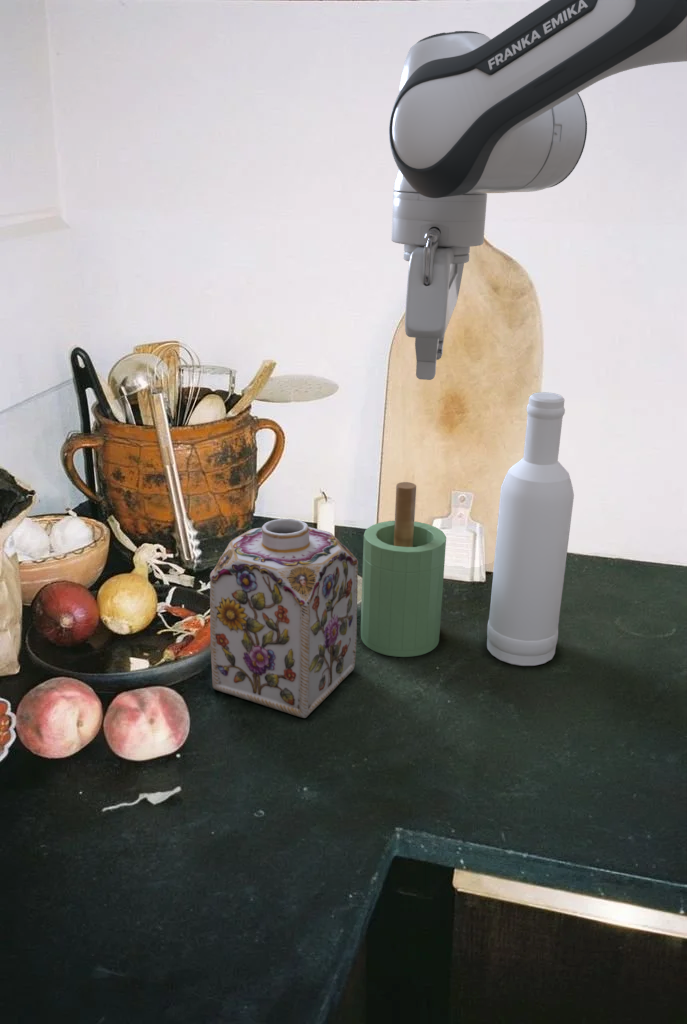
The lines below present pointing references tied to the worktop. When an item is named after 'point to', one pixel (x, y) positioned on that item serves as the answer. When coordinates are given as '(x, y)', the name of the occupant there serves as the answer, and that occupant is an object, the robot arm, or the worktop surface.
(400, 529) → the brush
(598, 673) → the worktop surface
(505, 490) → the bottle
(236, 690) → the decorative jar
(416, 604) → the green pen holder
